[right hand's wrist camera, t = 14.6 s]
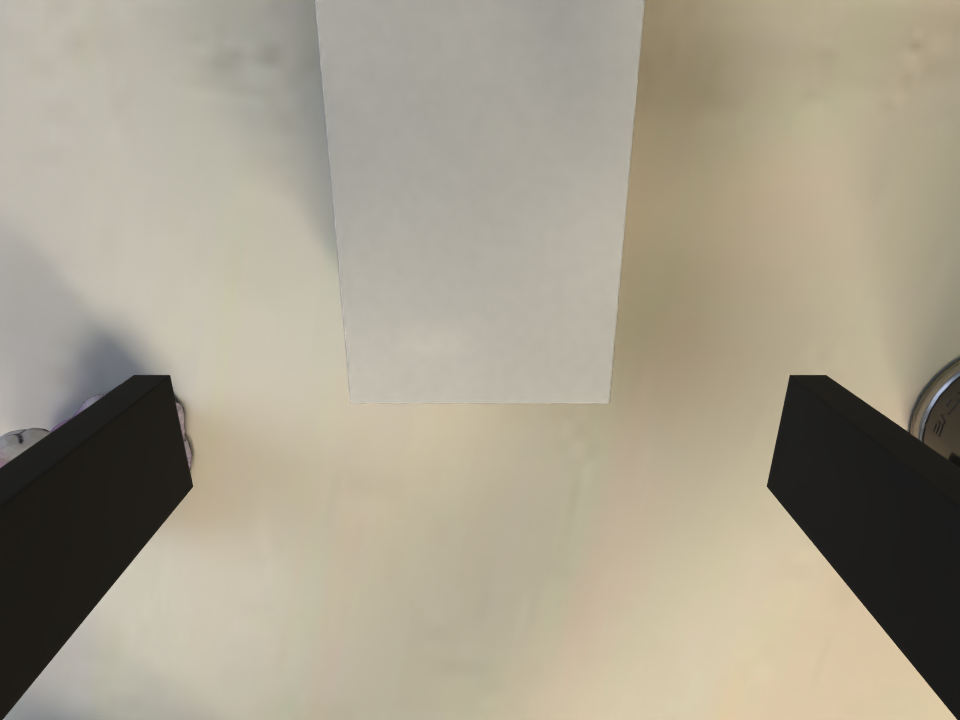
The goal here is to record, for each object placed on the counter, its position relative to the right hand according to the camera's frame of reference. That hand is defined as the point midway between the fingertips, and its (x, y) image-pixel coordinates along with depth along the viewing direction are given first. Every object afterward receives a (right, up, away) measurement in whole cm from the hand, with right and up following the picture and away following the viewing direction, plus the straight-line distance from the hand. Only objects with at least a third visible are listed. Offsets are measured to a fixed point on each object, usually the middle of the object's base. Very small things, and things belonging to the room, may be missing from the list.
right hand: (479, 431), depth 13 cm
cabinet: (0, +11, +18) cm, 21 cm away
